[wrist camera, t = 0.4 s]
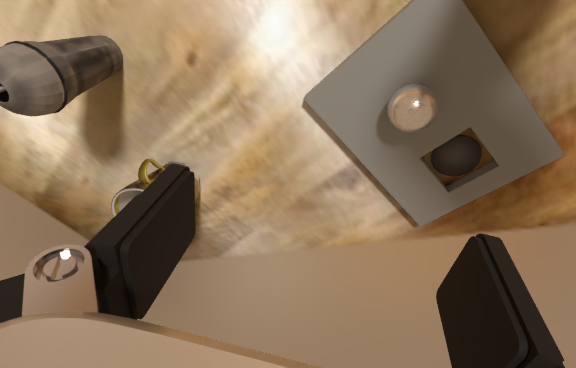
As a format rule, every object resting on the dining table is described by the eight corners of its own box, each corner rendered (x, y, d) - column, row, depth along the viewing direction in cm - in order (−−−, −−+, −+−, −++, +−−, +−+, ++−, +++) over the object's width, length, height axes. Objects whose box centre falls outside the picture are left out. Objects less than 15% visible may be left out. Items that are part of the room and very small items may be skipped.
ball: (416, 68, 35) (423, 81, 31) (443, 103, 36) (452, 120, 32) (377, 98, 38) (378, 114, 34) (403, 129, 39) (407, 149, 35)
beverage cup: (140, 82, 44) (6, 152, 28) (92, 82, 46) (-61, 148, 29) (122, 22, 40) (-46, 62, 24) (71, 24, 42) (-121, 62, 25)
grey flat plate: (442, -27, 32) (445, -27, 30) (558, 149, 38) (565, 155, 37) (305, 95, 41) (303, 99, 39) (418, 220, 47) (420, 226, 46)
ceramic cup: (212, 210, 54) (184, 254, 46) (155, 198, 55) (118, 239, 47) (209, 140, 47) (176, 176, 39) (144, 127, 48) (98, 161, 40)
